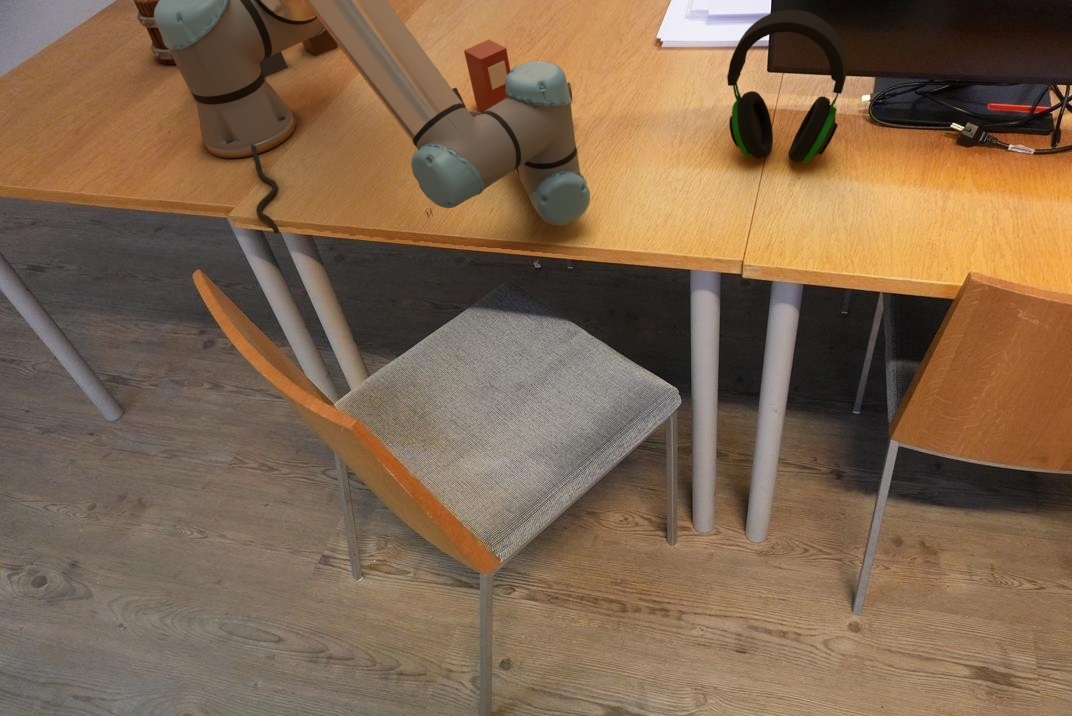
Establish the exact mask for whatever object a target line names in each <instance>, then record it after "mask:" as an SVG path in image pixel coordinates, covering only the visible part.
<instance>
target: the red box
mask: <svg viewBox="0 0 1072 716" xmlns="http://www.w3.org/2000/svg"><path fill="white" fill-rule="evenodd" d="M463 53H464V58H465V61H466V65H467V66H466V67H467V70H468V71H467V72H468V75H469V79H470V84H471V88H472V93H473V96H474V101H475V106H476V109H477V110H479V111H480V112H481V113H482V112H484V111H486V110H487V109H489V108H491V107H492V106H494V105H496V104H497V103H499V102H501V101H502V100H504V99H506V98H507V95H506V92H505V90H506V85H505V79H506V77H507V75H508V74H509V72H510V71H511V65H510V61H509V56H508V50H507V48H506V47H505V46H503V45H501V44H499V43H497V42H496V41H493V40H491V39H487V40H484V41H482V42H480V43H477V44H475V45H473V46H471V47H469V48H466V49H464V50H463Z"/></svg>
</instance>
